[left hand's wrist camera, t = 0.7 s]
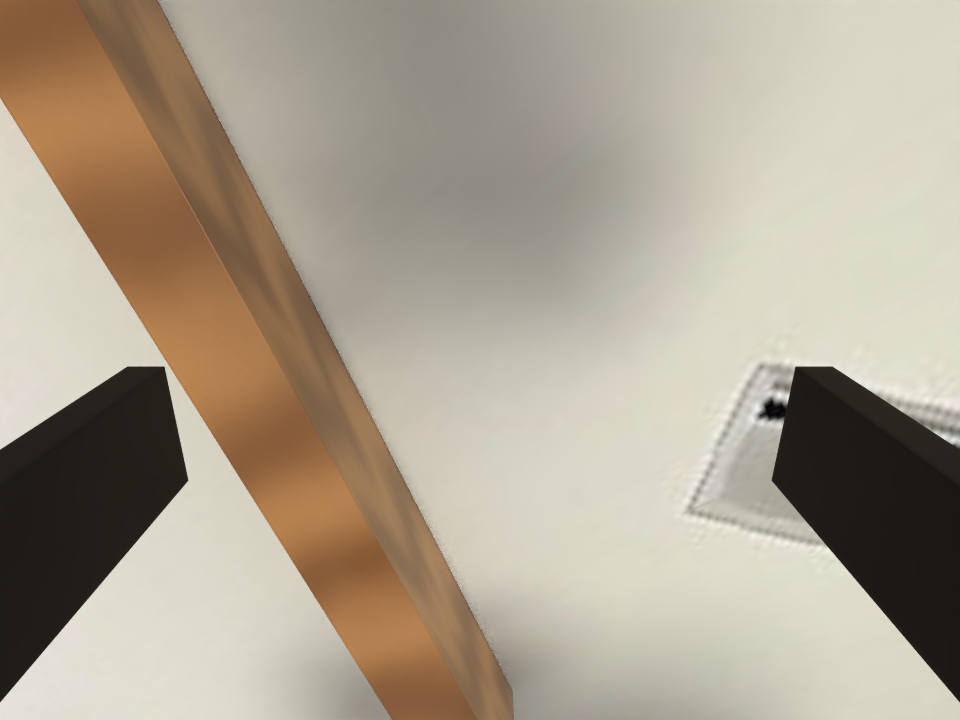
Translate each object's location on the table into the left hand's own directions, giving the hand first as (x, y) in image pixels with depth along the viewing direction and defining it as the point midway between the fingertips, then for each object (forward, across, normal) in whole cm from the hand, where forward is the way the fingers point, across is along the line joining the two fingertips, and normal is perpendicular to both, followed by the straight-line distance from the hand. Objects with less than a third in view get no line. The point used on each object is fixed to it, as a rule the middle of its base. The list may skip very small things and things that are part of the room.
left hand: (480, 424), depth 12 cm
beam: (+23, -11, -8) cm, 27 cm away
